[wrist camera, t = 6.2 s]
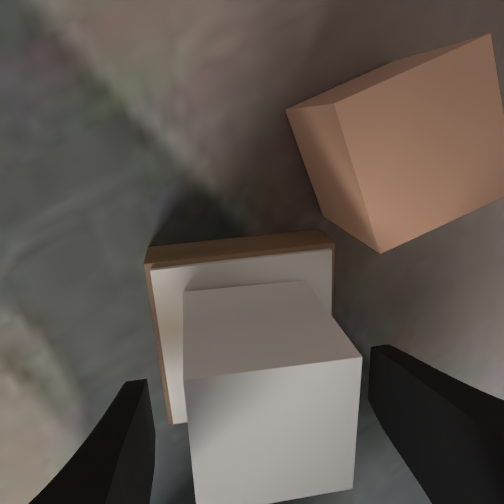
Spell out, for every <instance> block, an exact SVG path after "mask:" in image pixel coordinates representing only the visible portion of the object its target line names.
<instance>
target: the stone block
mask: <svg viewBox="0 0 504 504" xmlns="http://www.w3.org/2000/svg"><path fill="white" fill-rule="evenodd" d="M361 370H362V356H361V354H360V353H359V352H358V350H357V349H356V348H355V346H354V345H353V344H352V342H351V341H350V340H349V338H348V337H347V336H346V334H345V333H344V332H343V330H342V329H341V328H340V326H339V325H338V324H337V322H336V321H335V320H334V318H333V317H332V316H331V314H330V313H329V312H328V310H327V309H326V308H325V306H324V305H323V303H322V302H321V301H320V299H319V298H318V297H317V295H316V294H315V293H314V291H313V290H312V289H311V287H310V286H309V285H308V283H307V282H306V281H305V280H301V281H290V282H280V283H270V284H259V285H249V286H238V287H228V288H217V289H207V290H196V291H186V292H183V384H184V393H185V403H186V413H187V422H188V432H189V441H190V451H191V461H192V470H193V480H194V490H195V499H196V504H270V503H275V502H281V501H287V500H292V499H298V498H303V497H309V496H314V495H320V494H326V493H331V492H337V491H342V490H348V489H352V488H353V475H354V462H355V449H356V436H357V423H358V409H359V396H360V383H361Z"/></svg>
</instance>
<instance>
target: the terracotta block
mask: <svg viewBox="0 0 504 504" xmlns="http://www.w3.org/2000/svg"><path fill="white" fill-rule="evenodd" d="M285 111H286V114H287V117H288V119H289V122H290V125H291V128H292V131H293V133H294V136H295V139H296V142H297V144H298V147H299V150H300V153H301V156H302V158H303V161H304V164H305V167H306V170H307V172H308V175H309V178H310V181H311V184H312V186H313V189H314V192H315V195H316V198H317V200H318V203H319V206H320V209H321V212H322V214H323V216H324V217H325V218H327V219H328V220H330V221H331V222H333V223H334V224H336V225H337V226H339V227H340V228H342V229H343V230H345V231H346V232H348V233H349V234H351V235H352V236H354V237H355V238H357V239H359V240H360V241H362V242H363V243H365V244H366V245H368V246H369V247H371V248H372V249H374V250H375V251H377V252H378V253H380V254H382V253H384V252H386V251H388V250H390V249H392V248H395V247H397V246H399V245H401V244H403V243H405V242H408V241H410V240H412V239H414V238H416V237H418V236H421V235H423V234H425V233H427V232H429V231H431V230H433V229H436V228H438V227H440V226H442V225H444V224H446V223H449V222H451V221H453V220H455V219H457V218H459V217H462V216H464V215H466V214H468V213H470V212H472V211H475V210H477V209H479V208H481V207H483V206H485V205H487V204H490V203H492V202H494V201H496V200H498V199H500V198H503V197H504V113H503V107H502V101H501V94H500V88H499V82H498V75H497V69H496V63H495V57H494V50H493V44H492V38H491V33H489V34H486V35H482V36H479V37H476V38H472V39H469V40H465V41H462V42H458V43H455V44H451V45H448V46H444V47H441V48H437V49H434V50H430V51H427V52H423V53H420V54H416V55H413V56H409V57H406V58H403V59H399V60H396V61H392V62H390V63H388V64H386V65H383V66H381V67H379V68H377V69H375V70H372V71H370V72H368V73H366V74H363V75H361V76H359V77H357V78H354V79H352V80H350V81H348V82H346V83H343V84H341V85H339V86H337V87H334V88H332V89H330V90H328V91H325V92H323V93H321V94H319V95H317V96H314V97H312V98H310V99H308V100H305V101H303V102H301V103H299V104H296V105H294V106H292V107H290V108H288V109H285Z"/></svg>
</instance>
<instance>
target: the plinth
mask: <svg viewBox="0 0 504 504" xmlns="http://www.w3.org/2000/svg"><path fill="white" fill-rule="evenodd" d="M144 269H145V275H146V282H147V288H148V294H149V301H150V307H151V314H152V320H153V326H154V333H155V339H156V345H157V352H158V358H159V365H160V371H161V377H162V384H163V390H164V397H165V403H166V409H167V416H168V422H169V426H170V425H176V424H181V423H187V413H186V403H185V393H184V384H183V292H186V291H196V290H207V289H217V288H228V287H238V286H249V285H259V284H270V283H280V282H290V281H301V280H305V281H306V282H307V283H308V285H309V286H310V287H311V289H312V290H313V291H314V293H315V294H316V295H317V297H318V298H319V299H320V301H321V302H322V303H323V305H324V306H325V308H326V309H327V310H328V312H329V313H330V314H331V316H332V317H333V318H334V312H335V242H334V241H332V240H331V239H330V238H328V237H327V236H326V235H325V234H323V233H322V232H321V231H319V230H318V229H313V230H304V231H294V232H285V233H275V234H266V235H256V236H247V237H237V238H227V239H218V240H208V241H199V242H189V243H180V244H170V245H161V246H151V247H148V249H147V253H146V257H145V261H144Z"/></svg>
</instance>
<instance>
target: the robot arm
mask: <svg viewBox="0 0 504 504" xmlns="http://www.w3.org/2000/svg"><path fill="white" fill-rule="evenodd" d="M368 400H369V402H370V404H371V406H372V408H373V410H374V413H375V415H376V417H377V418H378V420H379V422H380V424H381V426H382V428H383V429H384V431H385V433H386V434H387V436H388V437H389V439H390V440H391V442H392V443H393V445H394V446H395V448H396V449H397V451H398V452H399V454H400V455H401V457H402V458H403V460H404V461H405V463H406V464H407V466H408V467H409V469H410V470H411V472H412V473H413V475H414V476H415V478H416V479H417V481H418V482H419V484H420V485H421V487H422V488H423V490H424V491H425V493H426V495H427V496H428V498H429V499H430V501H431V503H432V504H504V400H502V399H499V398H496V397H494V396H492V395H489V394H487V393H485V392H482V391H480V390H478V389H476V388H474V387H472V386H469V385H467V384H465V383H463V382H461V381H459V380H457V379H455V378H453V377H451V376H449V375H447V374H445V373H443V372H441V371H439V370H437V369H435V368H433V367H431V366H430V365H428V364H426V363H424V362H422V361H420V360H418V359H416V358H414V357H413V356H411V355H409V354H407V353H405V352H403V351H401V350H399V349H397V348H395V347H393V346H391V345H381V346H374V347H371V354H370V371H369V388H368ZM154 466H155V428H154V421H153V415H152V409H151V402H150V396H149V390H148V383H147V379H142V380H135V381H128V382H126V383H125V384H124V385H123V386H122V388H121V389H120V391H119V392H118V394H117V396H116V397H115V399H114V400H113V402H112V403H111V405H110V406H109V408H108V409H107V411H106V412H105V414H104V415H103V417H102V418H101V420H100V421H99V422H98V424H97V425H96V427H95V428H94V429H93V431H92V432H91V434H90V435H89V436H88V438H87V439H86V440H85V441H84V443H83V444H82V445H81V446H80V448H79V449H78V450H77V451H76V453H75V454H74V455H73V456H72V458H71V459H70V460H69V461H68V462H67V464H66V465H65V466H64V467H63V468H62V469H61V471H60V472H59V473H58V474H57V475H56V476H55V477H54V478H53V479H52V480H51V482H50V483H49V484H48V485H47V486H46V487H45V488H44V489H43V490H42V491H41V492H40V493H39V494H38V495H37V496H36V497H35V498H34V499H33V500H32V501H31V502H30V503H29V504H149V503H150V496H151V489H152V481H153V474H154Z"/></svg>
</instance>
